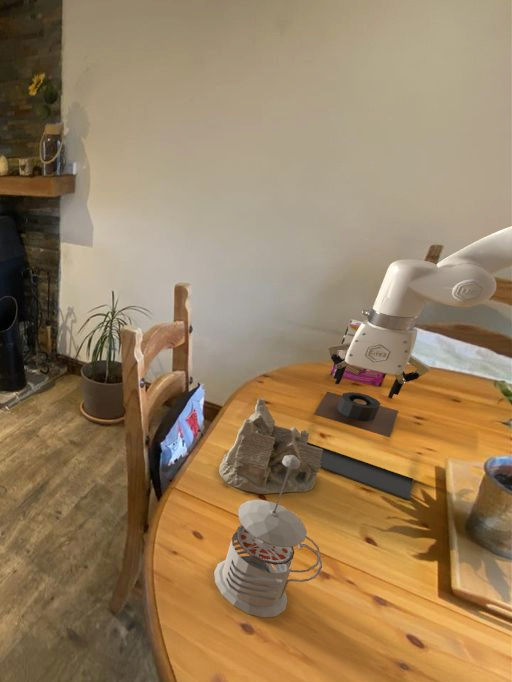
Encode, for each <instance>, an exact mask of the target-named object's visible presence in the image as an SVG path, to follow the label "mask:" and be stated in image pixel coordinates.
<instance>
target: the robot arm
mask: <svg viewBox="0 0 512 682" xmlns="http://www.w3.org/2000/svg"><path fill="white" fill-rule="evenodd" d="M509 267H512V225H510V226H508V227H505V228H502V229H501V230H497V231H496V232H493V233H491V234H489V235H486V236H484V237H482V238H480V239H478V240H476V241H473V242H472V243H470V244H468V245H467V246H465V247H463V248H461V249H459V250H458V251H456V252H454V253H452V254H451V255H448V256H447V257H445V258H444V259H442V260H441V261H439V262H437V263H434V262H432V261H427V260H420V259H398V260H394V261H393V262H391V263H390V264H389V266H388V268H387V270H386V272H385V275H384V277H383V280H382V283H381V285H380V287H379V291H378V293H377V296H376V298H375V300H374V304H373V306H372V308H370V309H363V310H362V312H361V314H360V315H361V316H363V317H365V318H366V319H364V320H362V321H363V322H362V324H361V325H360V327H359V328H358V330H357V332H356V334H355V336H354V338H353V340H352V342H351V343H345V344H341V343H339V344H332V345H329V347H328V352H329V355H330V359H331V361H332V362H333V364H334V363H335V364H336V367H337V370H336V373H335V375H334V376H333V379H334V380H335V385H340V383H341V382H342V379H343V378H342V377H343V374H344V372H345V369H346V366H347V365H349V364H350V365H352V366H356V367H360V368H364V369H368V370H372V371H377V372H381V373H385V374H386V375H391V376H394V377H395V379H394V382H393V384H392V386H391V388H390V390H389V392H388V396H387V398H388V399H393V397H394V395H397V396H398V395H399V394H400V391H401V390H402V387H403V385H405V384H407V383H409V382H412V381H414V380H415V381H416V380H418V379H419V378H420V377H422V376H423V375H425V374H427V373H428V372H430V368H431V367H430V366H429V365H428V364H425V363H424V362H423V361H421V360H420V359H418V358H417V357H415V356H414V355H413V350H414V348H415V344H416V341H417V338H418V337H417V336H418V329H417V328H416V327H415V326H416V325H417V323H418V320H419V317H420V315H421V313H422V311H423V309H424V307H425V304H426V303H427V301H428V302H432V303H436V304H441V305H445V306H451V307H457V308H468V307H474V306H478V305H481V304H483V303H485V302H487V301H488V300H490V299H491V298H492V297H493V295H494V294H495V293H496V291H497V281H496V279H495V277H494V276H493V275H495V274H497V273H499V272H501V271H503V270H505V269H507V268H509ZM341 350H348V352H347V354H346V358H344V359H341V357H340V356H339V355H338V351H341ZM408 364H409V365H411V366H413V367H414V368H416V370H414V371H411V372H408V373H406V371H405V369H406V367H407V365H408Z"/></svg>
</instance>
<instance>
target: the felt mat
mask: <svg viewBox="0 0 512 682" xmlns="http://www.w3.org/2000/svg"><path fill="white" fill-rule="evenodd" d="M307 445H310V446H313V447H317V448H320V449H323V453H322V456H321V460H320V461H321V464H320V465H321V467H320V469H322V470H324V471H328V472H331V473H333V474H336V475H338V476H341V477H344V478H347V479H349V480H352V481H355V482H357V483H360V484H362V485H366V486H368V487H371V488H374V489H376V490H379V491H382V492H384V493H386V494H389V495H392V496H395V497H397V498H401V499H403V500H406V501H410V498H411V492H412V489H413V482H414V478H412V477H409V476H407V475H404V474H401V473H398V472H395V471H392V470H390V469H386V468H385V467H384V468H383V467H381V466H378V465H375V464H372V463H369V462H366V461H364V460H360V459H357V458H354V457H352V456H349V455H346V454H343V453H340V452H337V451H334V450H330V449H329V448H325V447H322V446H320V445H317V444H314V443H311V442H309V441H307Z"/></svg>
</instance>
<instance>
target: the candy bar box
mask: <svg viewBox="0 0 512 682" xmlns="http://www.w3.org/2000/svg"><path fill="white" fill-rule="evenodd" d="M363 321H364V320H357V319H353V318H352V319H350V320H349V323H348V324H347V327H346V329H345V332H344V335H343V337H342V340H341V343H340V344H345V343H351V342H352V340H353V338H354V336H355V334H356V332H357V330H358V328H359V327H360V325H361V324H362V322H363ZM337 352H338V355H339V356H340V357H341V359H344V358H346V354H347V352H348V350H341V351H337ZM336 370H337V367H336V364H335V363H334V362H333V365H332V368H331V370H330V373H329V376H332V377H334V375H335V373H336ZM386 376H387V374H385V373H381V372H377V371H372V370H368V369H364V368H360V367H356V366H352V365H350V364H349V365H347V366H346V369H345V372H344V374H343V377H342V379H344V380H349V381H353V382H356V383H357V382H358V383H360V384H361V383H362V384H365V385H371V386H375V387H380V388H381V387H382V385H383V383H384V381H385V379H386Z"/></svg>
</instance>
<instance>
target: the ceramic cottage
mask: <svg viewBox="0 0 512 682" xmlns="http://www.w3.org/2000/svg"><path fill="white" fill-rule="evenodd" d="M309 436H310V434H309V432H308V430H301V431H300V432H299V430H298V429H297V428H296V426H293V427H292V426H291V427H290V428H286V427H282V426H279V425H276V421H275V419H274V418H273V416H272V414H271V413H270V411H269V408H268V407H267V405H266V400H265V398H262V397H261V398H260V397H259V398H258V399H257V401H256V404H255V407H254V412H253V413H252V414H251V415H250V416H249V418H245V419H244V420H243V422H242V425H241V426H240V427H239V429H238V432H237V435H236V439H235V441H234V444H233V446H231V448H230V449H229V450H228V452H227V453H226V454H224V455H223V458H222V461H221V463H220V465H219V468H218V473H219V476H220V477H221V479H222V480H223V481H224V482H225V483H227V484H228V485H230V486H232V487H234V488H237V489H238V490H241V491H244V492H248V493H254V494H258V495H267V494H271V495H272V494H280V492H281V489H282V486H283V483H284V480H285V477H286V474H287V471H288V468H289V467H286V466H285V465H284V464H283V463H282V461H283V458H284V457H285V456H287V455H294V456H296V457H297V458H298V459H299V460H300V466H299V468H297V469H292V468H290V471H289V474H288V477H287V480H286V483H285V486H284V489H283V492H282V494H286V493H305V492H309V491H312V489H314V487H315V481H316V479H317V477H316V476H317V474H318V473H319V472H320V469H321V468H320V467H321V465H320V464H321V461H320V460H321V456H322V453H323V449H320V448H317V447H313V446H310V445H307V442H308V439H309Z"/></svg>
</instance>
